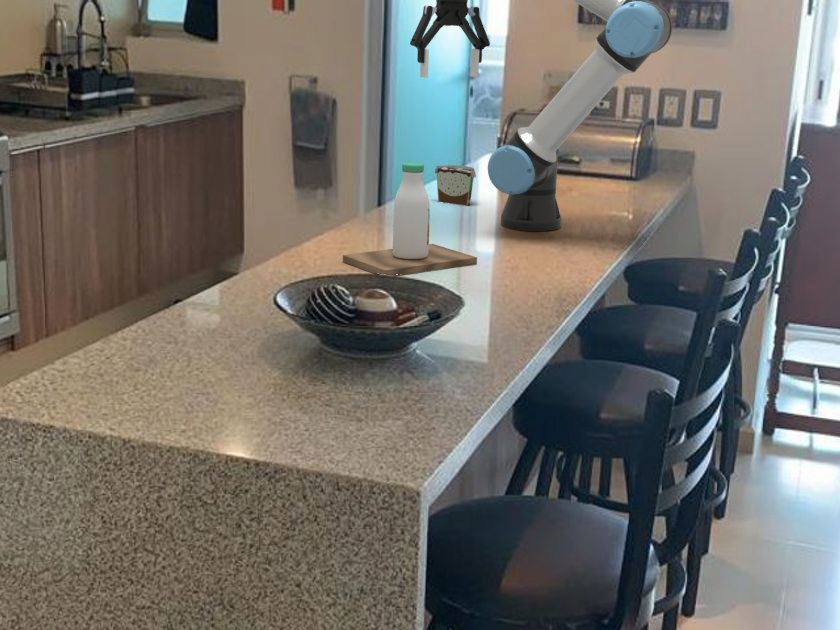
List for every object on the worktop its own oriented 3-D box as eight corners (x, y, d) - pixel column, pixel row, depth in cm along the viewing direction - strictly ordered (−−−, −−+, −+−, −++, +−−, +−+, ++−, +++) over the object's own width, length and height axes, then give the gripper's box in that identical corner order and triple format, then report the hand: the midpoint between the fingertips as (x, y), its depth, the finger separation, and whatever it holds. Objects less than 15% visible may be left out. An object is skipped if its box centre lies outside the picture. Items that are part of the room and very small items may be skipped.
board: (432, 250, 263) (432, 243, 263) (476, 264, 251) (477, 257, 250) (342, 262, 249) (342, 255, 249) (385, 277, 237) (385, 270, 236)
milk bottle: (424, 261, 245) (427, 167, 240) (388, 258, 246) (391, 164, 241) (431, 253, 252) (434, 162, 247) (396, 251, 254) (399, 159, 248)
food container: (483, 203, 322) (484, 168, 319) (471, 207, 317) (473, 170, 314) (445, 198, 328) (446, 163, 326) (433, 201, 323) (434, 165, 321)
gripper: (490, -14, 281) (486, 75, 287) (397, -17, 270) (395, 76, 276) (506, -14, 275) (502, 77, 280) (411, -17, 264) (409, 78, 270)
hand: (449, 77), depth 278 cm, fingers open, 13 cm apart
